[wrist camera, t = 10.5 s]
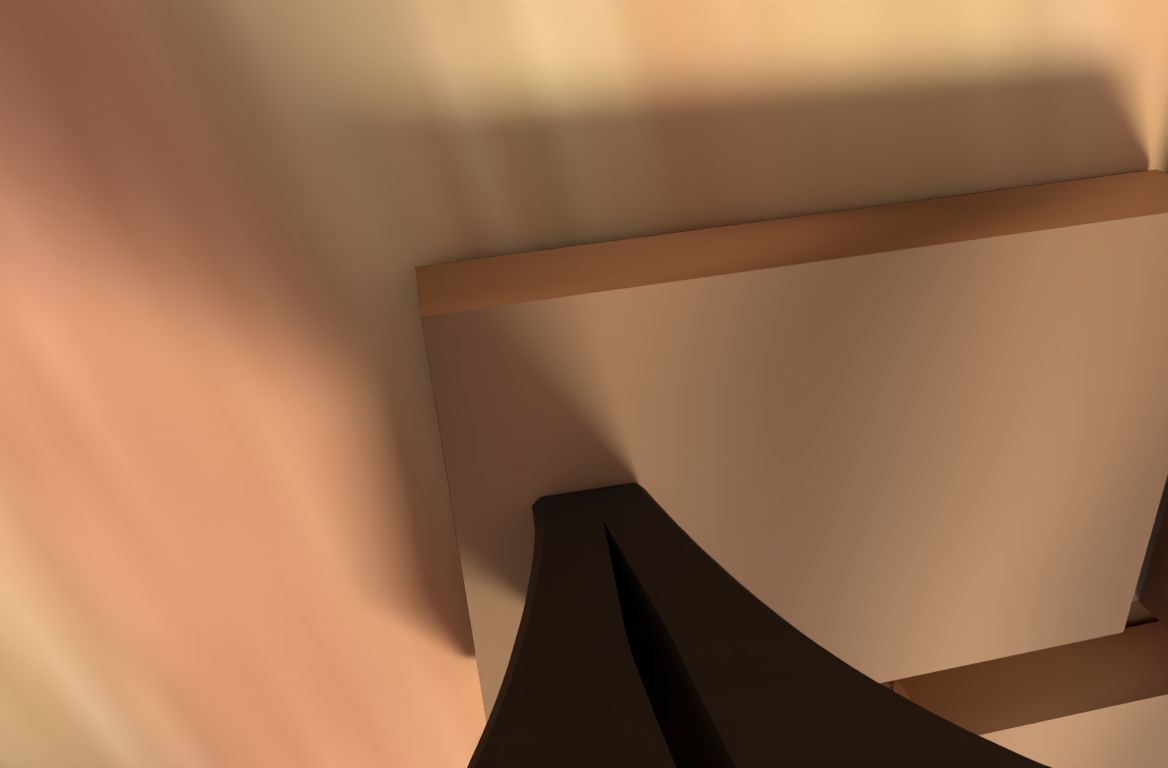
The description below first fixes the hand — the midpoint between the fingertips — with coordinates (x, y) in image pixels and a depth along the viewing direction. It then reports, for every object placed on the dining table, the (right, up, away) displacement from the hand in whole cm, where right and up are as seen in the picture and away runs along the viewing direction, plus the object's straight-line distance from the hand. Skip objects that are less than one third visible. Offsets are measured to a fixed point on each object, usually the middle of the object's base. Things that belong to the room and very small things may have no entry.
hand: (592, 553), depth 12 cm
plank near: (+3, +1, +2) cm, 4 cm away
